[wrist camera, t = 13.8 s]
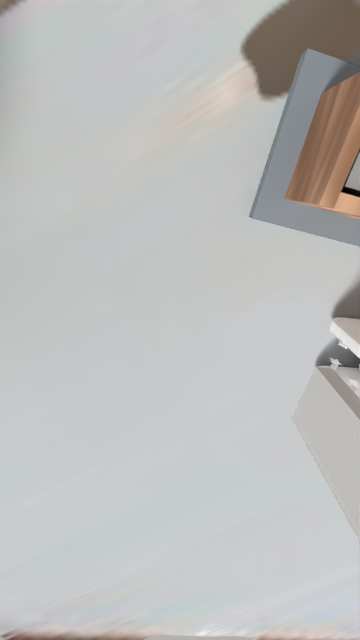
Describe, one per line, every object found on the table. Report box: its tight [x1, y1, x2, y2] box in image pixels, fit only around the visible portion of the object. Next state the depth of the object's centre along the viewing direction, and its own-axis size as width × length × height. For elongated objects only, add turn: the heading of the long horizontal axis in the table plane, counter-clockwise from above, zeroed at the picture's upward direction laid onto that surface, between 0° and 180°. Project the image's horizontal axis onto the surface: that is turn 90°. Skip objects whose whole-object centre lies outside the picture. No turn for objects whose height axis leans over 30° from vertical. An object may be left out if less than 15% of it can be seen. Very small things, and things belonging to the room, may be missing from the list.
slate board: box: [249, 48, 360, 246], centre depth 34 cm, size 16×16×2 cm
